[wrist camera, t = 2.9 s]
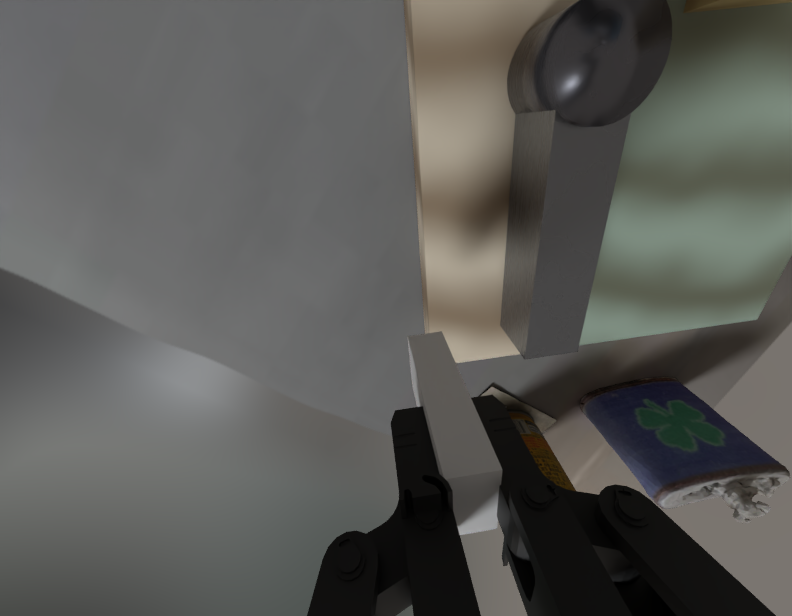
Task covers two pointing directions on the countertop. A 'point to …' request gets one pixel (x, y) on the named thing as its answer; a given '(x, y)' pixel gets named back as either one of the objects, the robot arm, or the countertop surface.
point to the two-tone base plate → (636, 180)
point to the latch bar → (571, 157)
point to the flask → (682, 446)
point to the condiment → (534, 436)
